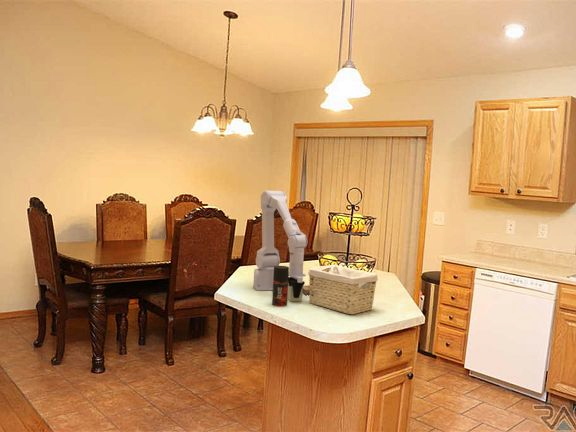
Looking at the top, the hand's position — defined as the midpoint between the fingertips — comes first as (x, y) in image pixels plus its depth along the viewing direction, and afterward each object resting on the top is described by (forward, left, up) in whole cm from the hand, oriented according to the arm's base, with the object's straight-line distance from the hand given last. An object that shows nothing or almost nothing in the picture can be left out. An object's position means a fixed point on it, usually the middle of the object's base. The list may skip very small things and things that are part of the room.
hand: (294, 296), depth 202 cm
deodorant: (-8, -7, -2) cm, 11 cm away
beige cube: (0, 0, -1) cm, 1 cm away
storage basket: (+16, -11, -2) cm, 20 cm away
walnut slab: (+10, +10, -2) cm, 14 cm away
